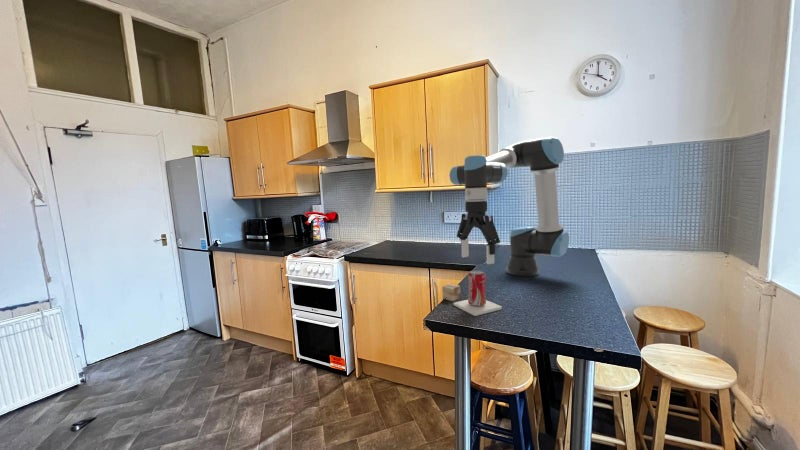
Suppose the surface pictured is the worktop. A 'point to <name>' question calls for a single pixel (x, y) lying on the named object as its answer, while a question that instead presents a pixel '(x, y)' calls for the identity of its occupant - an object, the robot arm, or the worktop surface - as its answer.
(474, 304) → the beverage can
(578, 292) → the worktop surface
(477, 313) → the tile
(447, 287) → the oak block
